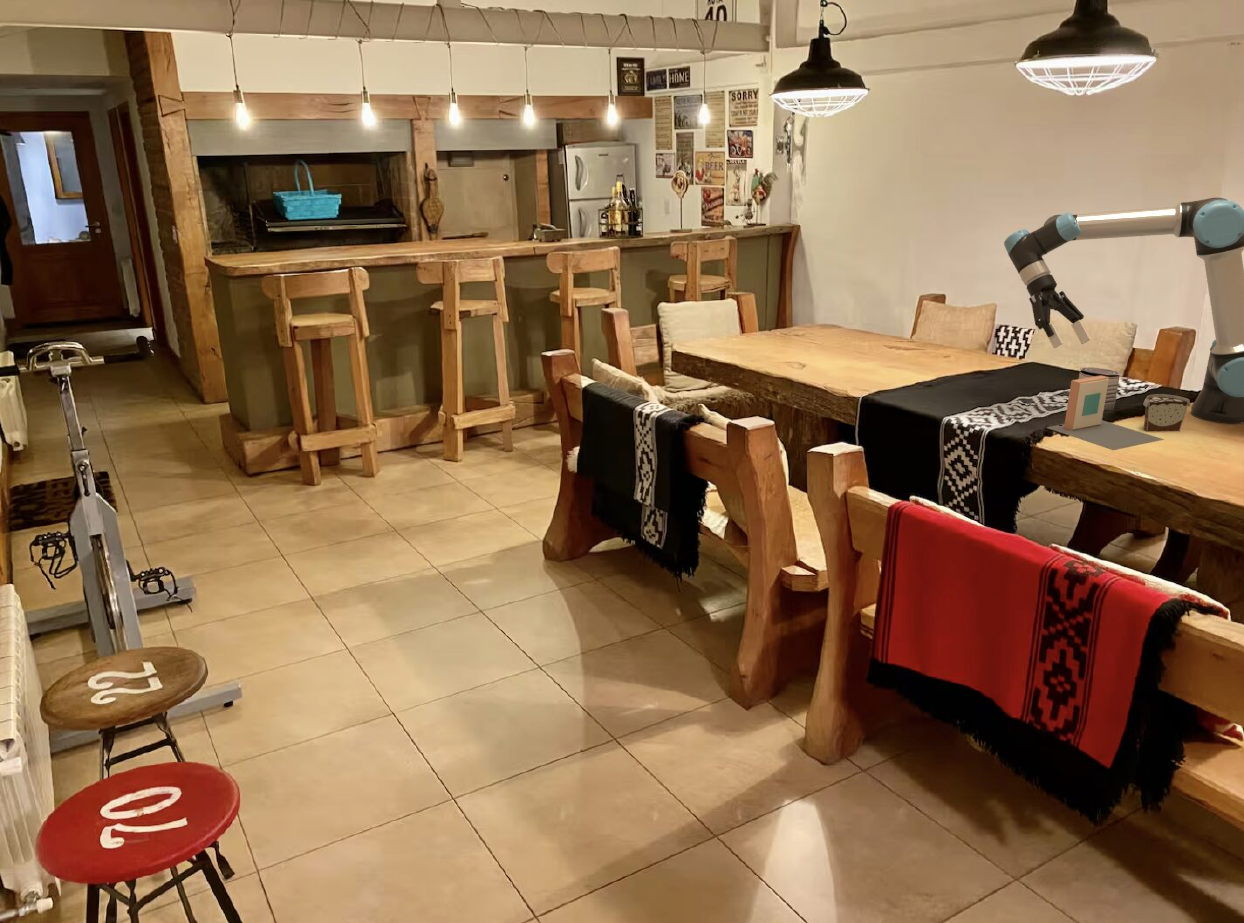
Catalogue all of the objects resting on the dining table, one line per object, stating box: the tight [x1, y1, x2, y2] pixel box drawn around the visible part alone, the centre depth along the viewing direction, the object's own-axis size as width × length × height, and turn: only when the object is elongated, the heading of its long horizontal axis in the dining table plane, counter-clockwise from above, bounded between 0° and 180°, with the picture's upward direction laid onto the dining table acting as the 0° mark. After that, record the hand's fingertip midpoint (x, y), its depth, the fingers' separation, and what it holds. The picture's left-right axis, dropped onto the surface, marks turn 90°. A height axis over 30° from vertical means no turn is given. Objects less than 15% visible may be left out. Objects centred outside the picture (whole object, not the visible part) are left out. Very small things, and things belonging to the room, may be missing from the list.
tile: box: [1063, 375, 1109, 431], centre depth 263 cm, size 12×3×14 cm, turn 115°
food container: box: [1142, 393, 1191, 432], centre depth 263 cm, size 12×6×10 cm, turn 92°
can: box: [1078, 366, 1121, 411], centre depth 285 cm, size 11×11×12 cm
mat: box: [1045, 419, 1165, 451], centre depth 260 cm, size 20×22×1 cm
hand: (1072, 344), depth 264 cm, fingers open, 13 cm apart
